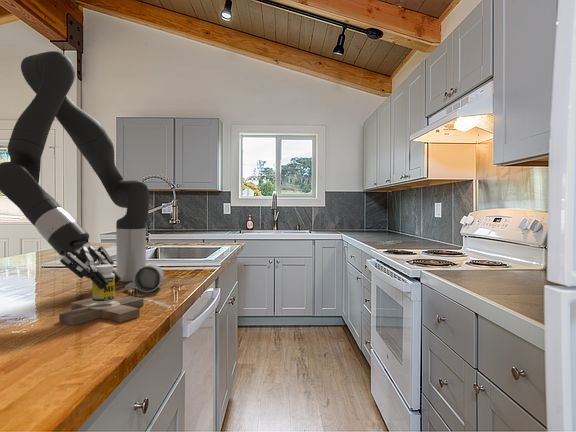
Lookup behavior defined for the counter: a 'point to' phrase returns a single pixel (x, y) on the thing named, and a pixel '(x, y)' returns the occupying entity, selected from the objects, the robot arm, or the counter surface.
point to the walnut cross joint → (102, 310)
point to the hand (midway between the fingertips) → (111, 283)
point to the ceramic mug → (147, 278)
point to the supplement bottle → (109, 291)
